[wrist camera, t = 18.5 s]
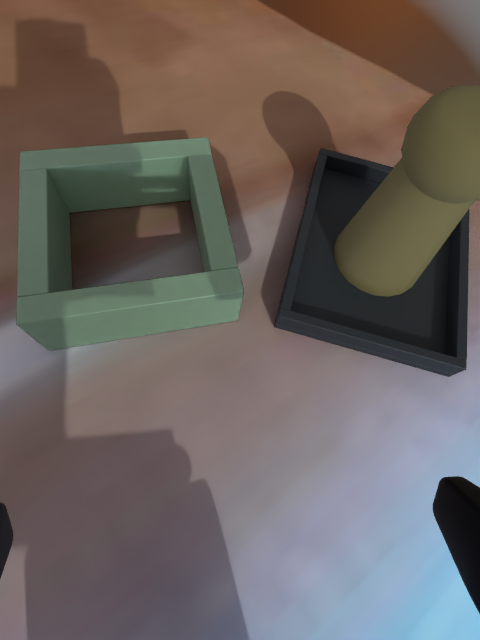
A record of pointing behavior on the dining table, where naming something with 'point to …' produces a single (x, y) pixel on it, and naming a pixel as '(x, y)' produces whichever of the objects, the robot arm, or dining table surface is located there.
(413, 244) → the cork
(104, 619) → the dining table surface
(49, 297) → the caddy
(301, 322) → the tray
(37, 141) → the dining table surface
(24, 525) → the dining table surface
